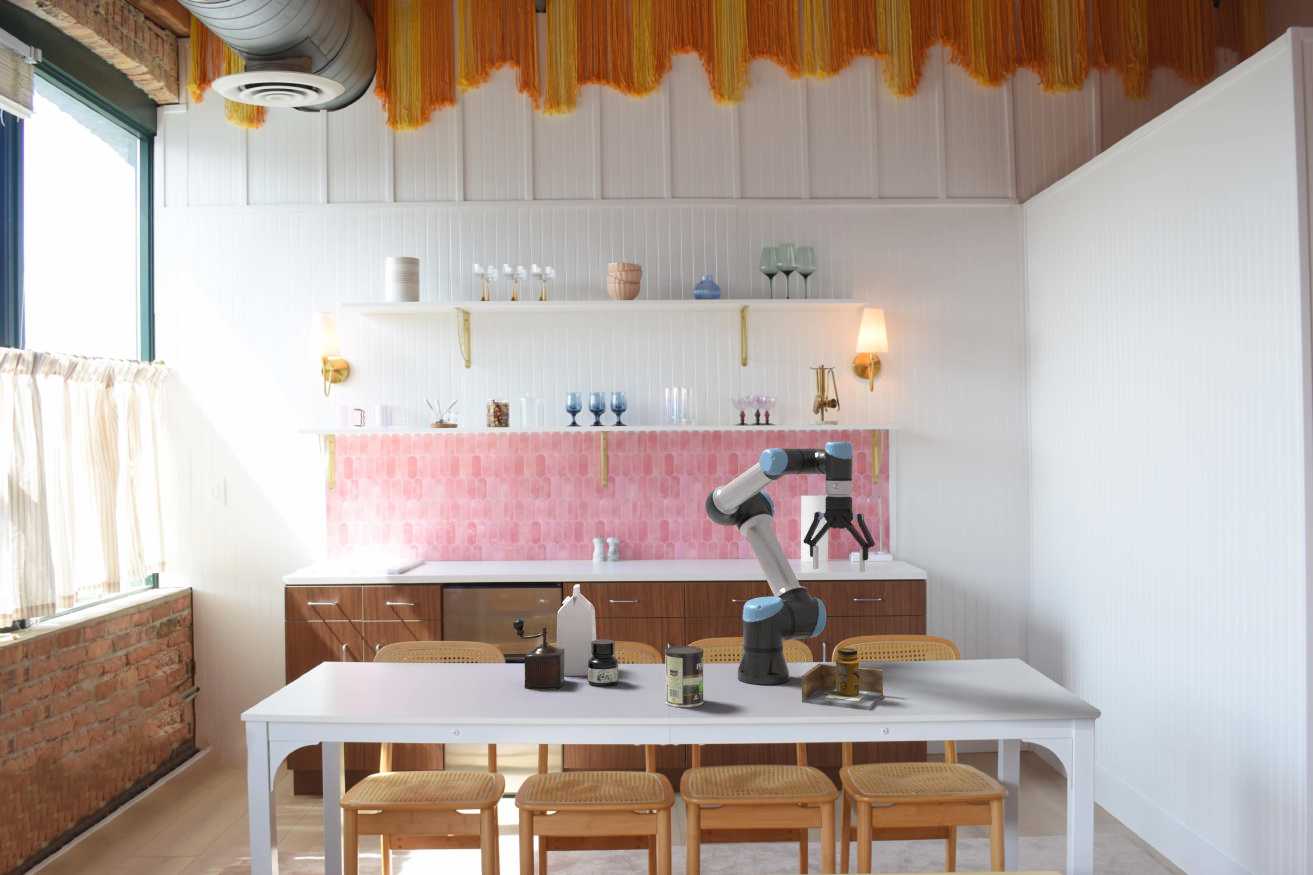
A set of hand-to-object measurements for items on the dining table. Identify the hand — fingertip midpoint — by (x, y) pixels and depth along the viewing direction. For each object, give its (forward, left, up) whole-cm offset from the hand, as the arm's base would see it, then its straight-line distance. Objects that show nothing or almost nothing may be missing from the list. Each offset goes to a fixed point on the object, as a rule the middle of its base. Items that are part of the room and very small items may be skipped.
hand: (838, 570), depth 262 cm
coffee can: (-33, -35, -33) cm, 58 cm away
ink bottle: (-63, -26, -33) cm, 75 cm away
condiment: (+5, -13, -32) cm, 35 cm away
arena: (+4, -13, -33) cm, 36 cm away
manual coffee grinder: (-80, -35, -33) cm, 93 cm away
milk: (-78, -16, -33) cm, 86 cm away
